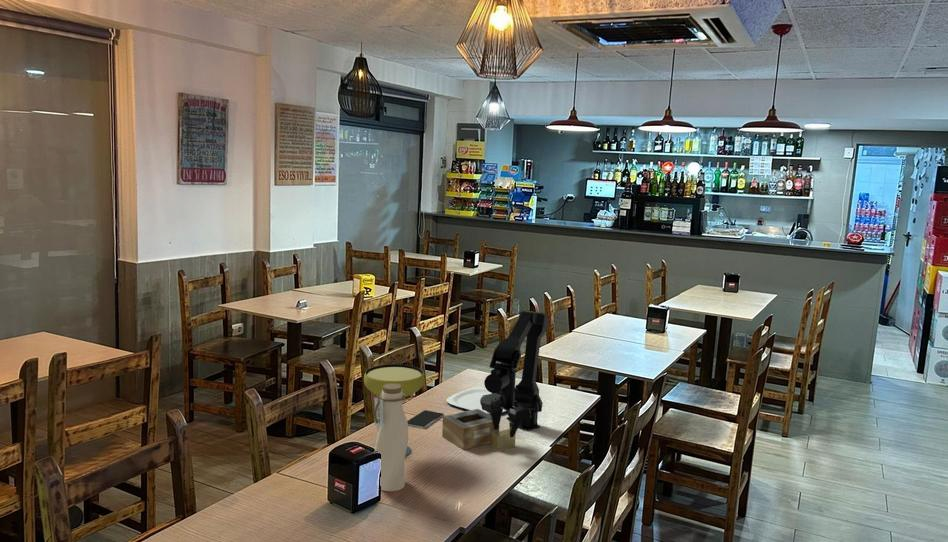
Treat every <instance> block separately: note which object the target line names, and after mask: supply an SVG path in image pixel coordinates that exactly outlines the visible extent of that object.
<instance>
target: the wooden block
mask: <svg viewBox="0 0 948 542" xmlns="http://www.w3.org/2000/svg"><path fill="white" fill-rule="evenodd" d="M516 435H517V432H516V433H515V435H514V437H510V428H507V429H504V430H499V432H495V433H492V443H491V449H492V450H495V451H496V452H500V451H504V450H509V449H512V448H515V447H516Z"/></svg>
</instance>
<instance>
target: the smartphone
mask: <svg viewBox="0 0 948 542" xmlns="http://www.w3.org/2000/svg"><path fill="white" fill-rule="evenodd" d="M443 416H445V413H444V412H437V411H432V410H427V409H425V410H424V409H423V411H421V412H419V413H417V414H416V415H415V416H413V417H411V418H410V419H407V423H408V427H412V428H417V429H421V428H422V429H421V430H425V429H427V428H429V427H430V426H432V423H433V424H434V423H435V422H437V421H438V420H440V419H441V418H443Z"/></svg>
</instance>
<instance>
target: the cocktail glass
mask: <svg viewBox="0 0 948 542" xmlns="http://www.w3.org/2000/svg"><path fill="white" fill-rule="evenodd" d="M363 382H364V386H365V387H366V389H367V390H368V391H370V392H371V393H372V394H375V395H376V396H378V397H379V396H380V394H382V390H383V385H385V384H399V385H401V390H402V393H404V394H405V395H406V397H410V396H411V395H413V394H415V393H417V392H419V390H421V388H423V386H424V384H425V372H424V371H423V369H422V368H420V367H417V366H415V365H414V366H413V365H408V364H398V363H396V364H392V363H391V364H381V365H376V366H373V367H370V368H367V369H366V370H365V373H364V376H363ZM403 397H404V396H403ZM411 453H412V449H411V447H410V446H408V445H407V449H406V454H405V457H407V456H409V455H410V454H411Z"/></svg>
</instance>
